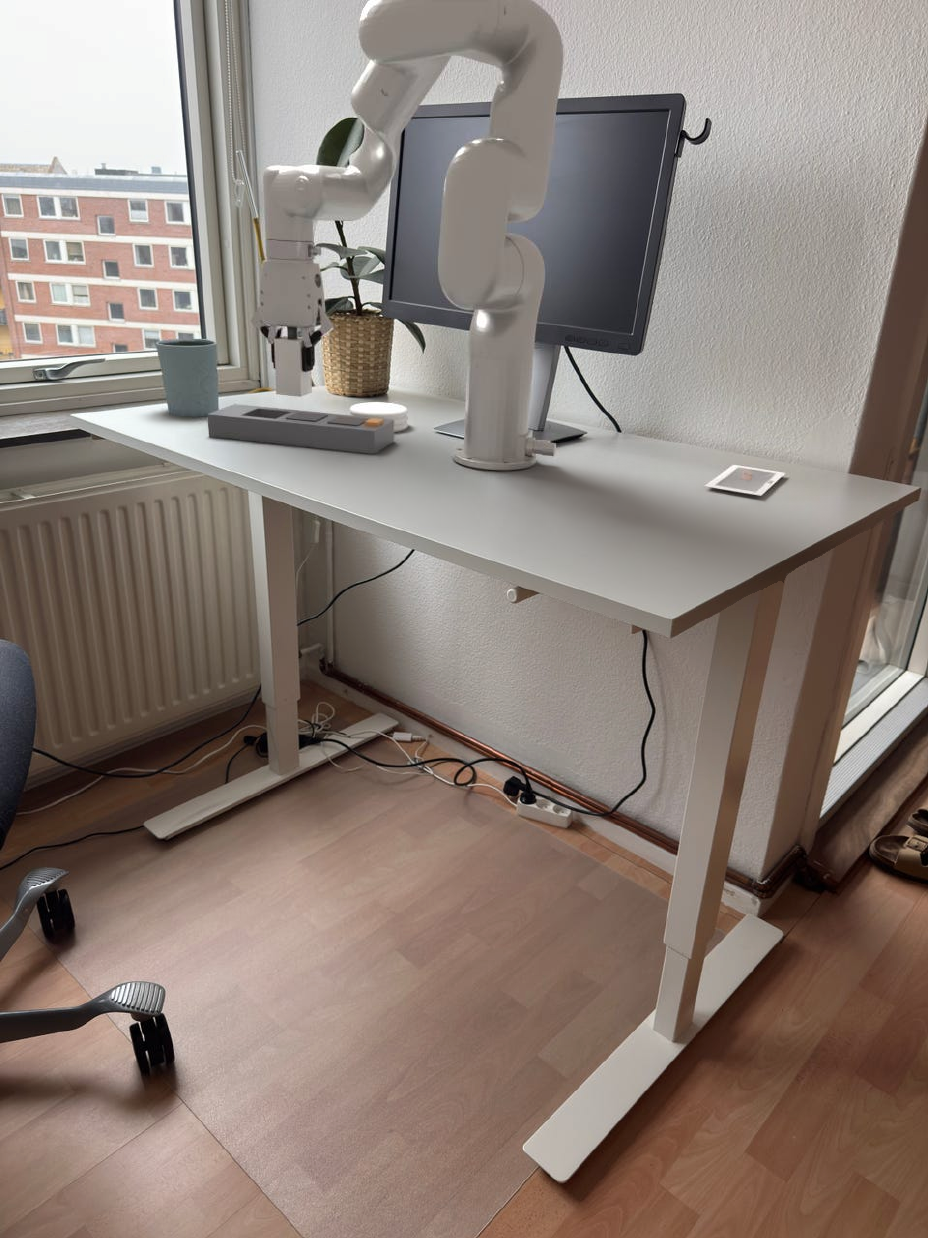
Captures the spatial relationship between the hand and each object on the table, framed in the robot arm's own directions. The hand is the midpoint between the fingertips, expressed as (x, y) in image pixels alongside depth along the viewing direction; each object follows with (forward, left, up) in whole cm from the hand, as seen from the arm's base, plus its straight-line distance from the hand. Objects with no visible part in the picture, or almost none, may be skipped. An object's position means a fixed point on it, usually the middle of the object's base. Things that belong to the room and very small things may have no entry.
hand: (293, 367), depth 149 cm
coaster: (-14, -3, -10) cm, 17 cm away
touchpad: (-75, +10, -10) cm, 76 cm away
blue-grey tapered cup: (+20, 0, -9) cm, 22 cm away
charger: (0, 0, -4) cm, 4 cm away
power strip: (-6, +11, -9) cm, 16 cm away
